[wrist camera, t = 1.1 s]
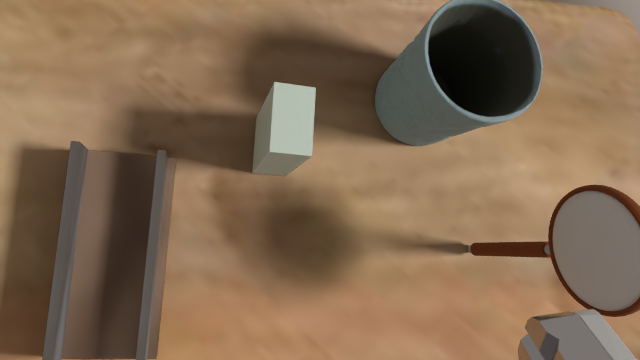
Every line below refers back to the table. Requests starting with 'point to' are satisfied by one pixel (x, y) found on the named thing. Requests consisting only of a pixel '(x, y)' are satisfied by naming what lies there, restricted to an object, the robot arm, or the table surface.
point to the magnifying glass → (589, 249)
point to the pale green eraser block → (284, 129)
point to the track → (110, 256)
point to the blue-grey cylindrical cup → (460, 73)
